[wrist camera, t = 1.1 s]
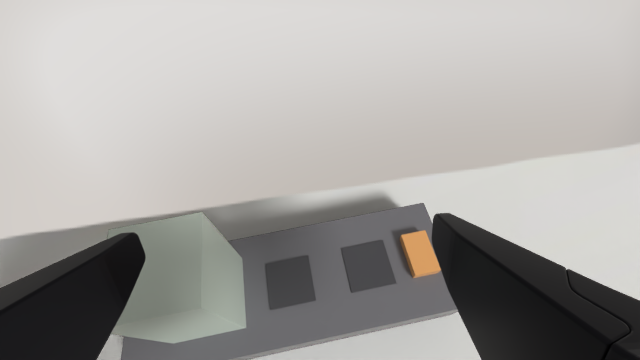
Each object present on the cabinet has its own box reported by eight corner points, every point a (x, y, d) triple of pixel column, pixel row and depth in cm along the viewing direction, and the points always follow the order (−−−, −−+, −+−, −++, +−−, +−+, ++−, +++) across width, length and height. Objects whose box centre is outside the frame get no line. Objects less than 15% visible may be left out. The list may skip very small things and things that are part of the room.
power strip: (414, 220, 24) (425, 197, 21) (450, 314, 20) (471, 305, 17) (156, 271, 23) (127, 256, 20) (146, 381, 19) (109, 384, 16)
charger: (255, 332, 20) (201, 308, 12) (190, 346, 20) (89, 331, 12) (251, 268, 22) (202, 211, 14) (192, 280, 22) (108, 229, 14)
